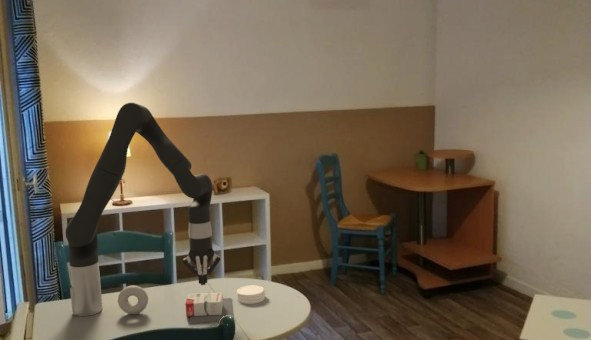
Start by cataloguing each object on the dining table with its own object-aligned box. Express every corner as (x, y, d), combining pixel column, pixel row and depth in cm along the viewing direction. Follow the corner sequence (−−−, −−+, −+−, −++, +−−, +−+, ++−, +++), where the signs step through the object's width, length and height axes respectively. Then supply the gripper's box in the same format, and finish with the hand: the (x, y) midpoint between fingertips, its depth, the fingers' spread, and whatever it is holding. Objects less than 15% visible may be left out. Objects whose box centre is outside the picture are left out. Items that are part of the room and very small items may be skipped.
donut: (150, 311, 193) (148, 283, 191) (148, 315, 189) (146, 286, 188) (120, 312, 192) (117, 284, 190) (117, 316, 189) (115, 288, 187)
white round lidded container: (233, 303, 198) (232, 294, 197) (242, 293, 207) (242, 283, 207) (260, 305, 195) (260, 296, 195) (268, 294, 205) (268, 285, 204)
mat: (190, 323, 182) (190, 322, 182) (191, 302, 199) (191, 301, 199) (233, 320, 184) (233, 318, 184) (231, 299, 201) (231, 297, 201)
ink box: (185, 317, 186) (221, 315, 186) (185, 303, 185) (221, 301, 186) (189, 306, 194) (223, 305, 195) (188, 293, 194) (222, 291, 194)
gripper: (179, 239, 182) (182, 290, 185) (220, 236, 184) (223, 286, 187) (180, 233, 189) (183, 282, 192) (220, 230, 191) (222, 278, 194)
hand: (203, 284), depth 190 cm, fingers closed
